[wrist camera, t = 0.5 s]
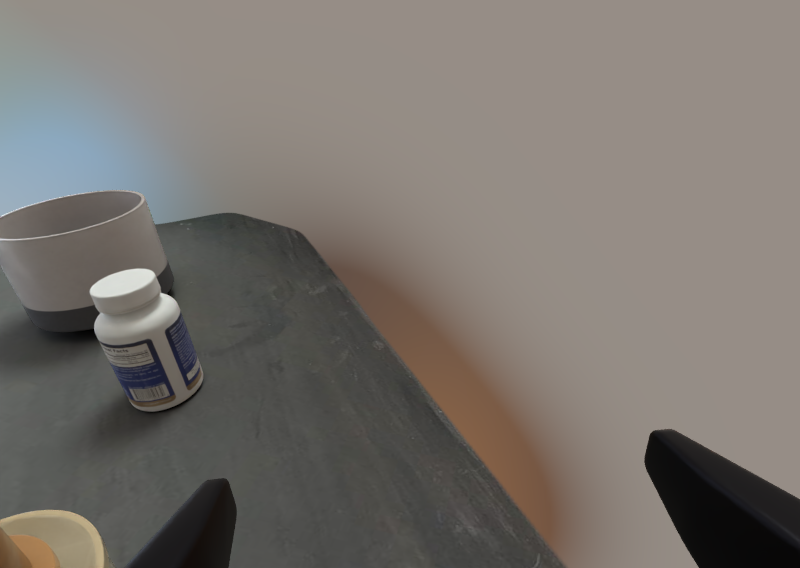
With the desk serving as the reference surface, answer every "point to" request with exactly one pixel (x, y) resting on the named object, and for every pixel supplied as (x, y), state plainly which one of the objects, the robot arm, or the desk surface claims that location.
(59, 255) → the planter
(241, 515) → the desk surface
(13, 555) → the flanged wooden cylinder
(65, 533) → the cream ceramic pot
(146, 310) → the pill bottle
